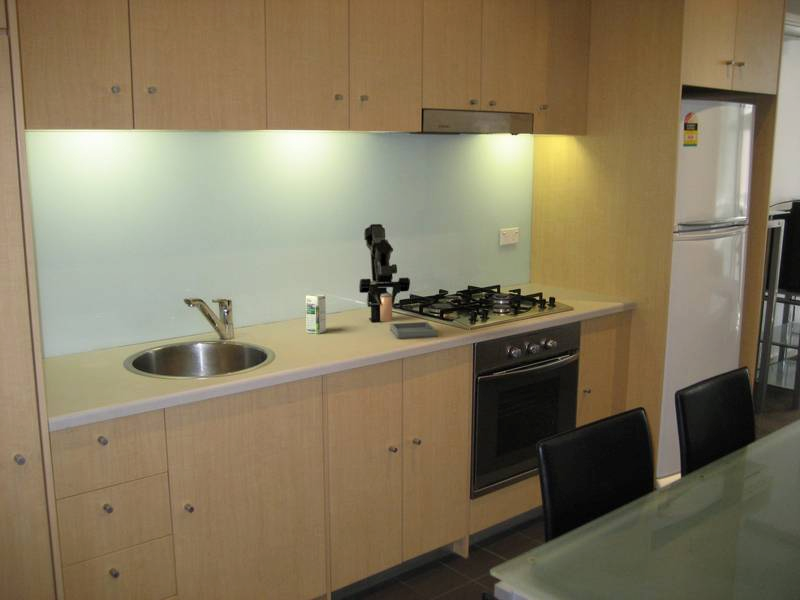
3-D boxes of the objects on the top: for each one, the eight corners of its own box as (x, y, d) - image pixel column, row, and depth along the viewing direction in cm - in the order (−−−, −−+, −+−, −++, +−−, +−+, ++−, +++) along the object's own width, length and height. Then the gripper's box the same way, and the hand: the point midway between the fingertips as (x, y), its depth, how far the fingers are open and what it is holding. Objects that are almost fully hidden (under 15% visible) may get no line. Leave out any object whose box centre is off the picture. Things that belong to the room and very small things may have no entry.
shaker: (378, 320, 296) (377, 293, 294) (388, 318, 298) (388, 292, 296) (384, 322, 292) (384, 295, 290) (394, 320, 295) (394, 294, 293)
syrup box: (305, 332, 306) (304, 296, 303) (314, 329, 311) (313, 293, 309) (318, 334, 304) (317, 297, 301) (326, 331, 309) (325, 294, 306)
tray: (390, 329, 310) (390, 323, 310) (427, 327, 313) (427, 321, 313) (398, 339, 296) (398, 332, 295) (437, 336, 299) (437, 330, 298)
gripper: (359, 257, 293) (362, 292, 285) (409, 256, 296) (414, 290, 287) (357, 274, 302) (361, 309, 294) (406, 273, 305) (410, 307, 297)
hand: (386, 303), depth 293 cm, fingers closed on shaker, 4 cm apart
